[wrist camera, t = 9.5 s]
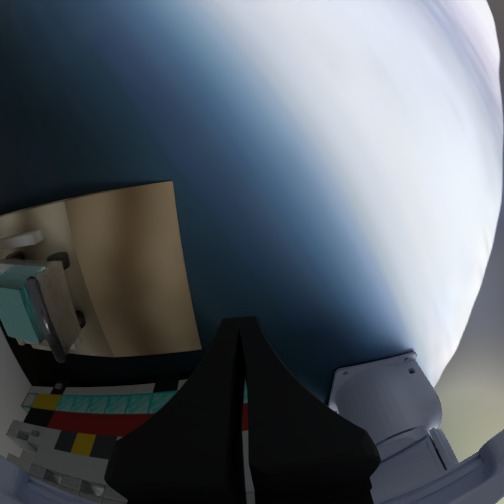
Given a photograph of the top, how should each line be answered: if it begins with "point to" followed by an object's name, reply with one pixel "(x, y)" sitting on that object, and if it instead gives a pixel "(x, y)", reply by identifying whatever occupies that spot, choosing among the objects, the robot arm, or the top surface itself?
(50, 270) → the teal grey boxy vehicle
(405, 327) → the top surface
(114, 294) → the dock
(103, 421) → the toy vehicle
